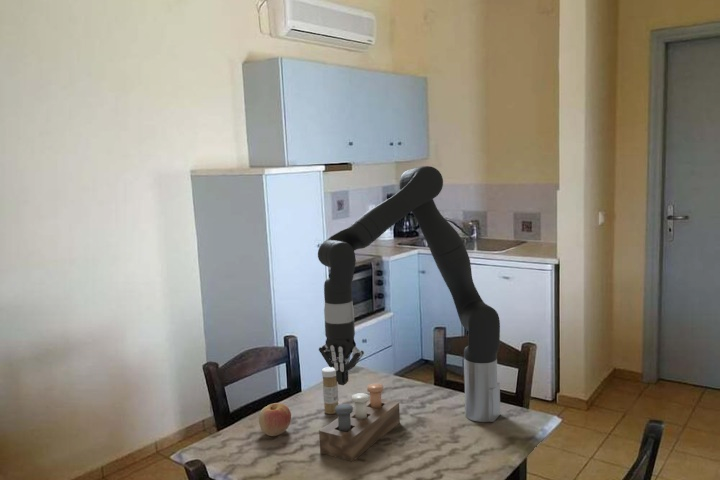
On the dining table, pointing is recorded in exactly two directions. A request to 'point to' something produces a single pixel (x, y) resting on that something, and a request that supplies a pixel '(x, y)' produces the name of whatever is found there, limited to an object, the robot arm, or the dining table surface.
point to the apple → (274, 419)
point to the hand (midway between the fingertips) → (342, 383)
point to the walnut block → (359, 431)
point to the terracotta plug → (375, 395)
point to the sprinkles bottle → (330, 389)
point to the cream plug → (360, 405)
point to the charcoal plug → (344, 416)
